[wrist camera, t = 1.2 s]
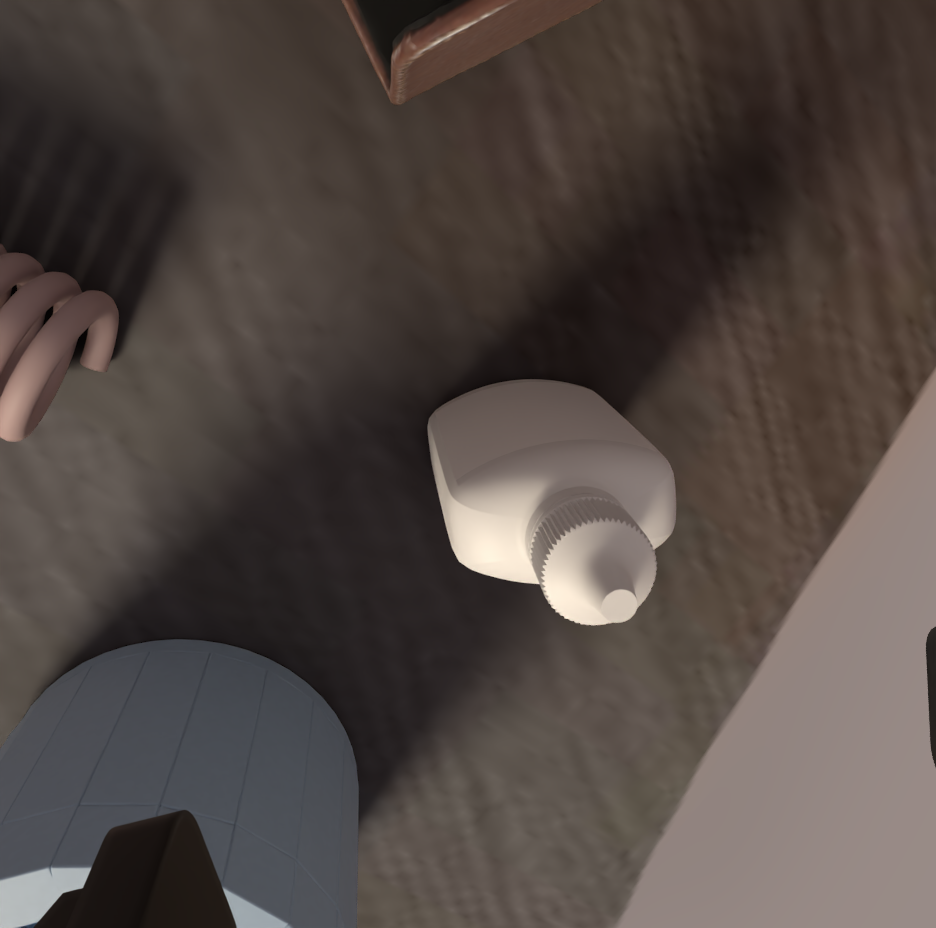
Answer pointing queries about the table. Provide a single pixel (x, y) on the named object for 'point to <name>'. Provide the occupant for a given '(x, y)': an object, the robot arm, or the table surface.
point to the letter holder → (446, 35)
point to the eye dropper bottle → (553, 494)
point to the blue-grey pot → (185, 781)
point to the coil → (45, 338)
